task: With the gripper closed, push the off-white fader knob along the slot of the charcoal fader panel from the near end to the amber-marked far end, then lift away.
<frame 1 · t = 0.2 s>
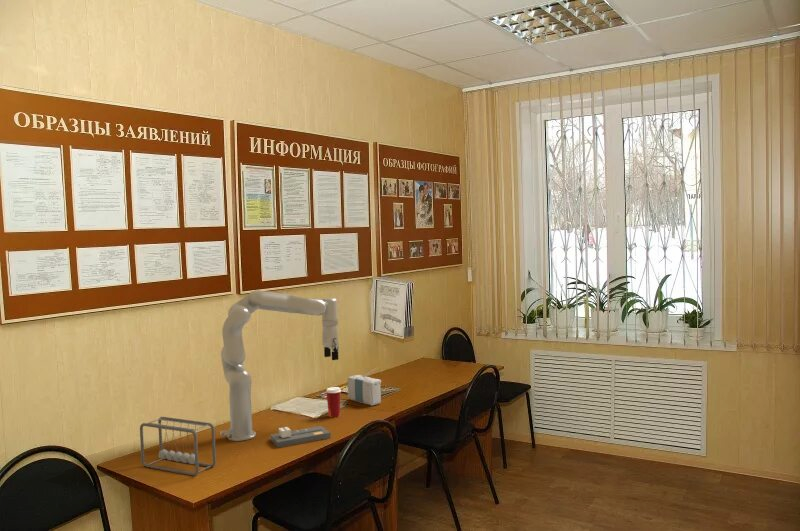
hand: (331, 358, 298), 31 cm above the table, tool pointing down, fingers open, 9 cm apart
stereo radio cassette player: (365, 402, 334), on the table
newton's cradle: (178, 467, 244), on the table
fader knob: (284, 432, 270), point 4 cm above the table, slide at -7.0 cm
fader panel: (300, 439, 273), on the table
paper cup: (334, 416, 308), on the table
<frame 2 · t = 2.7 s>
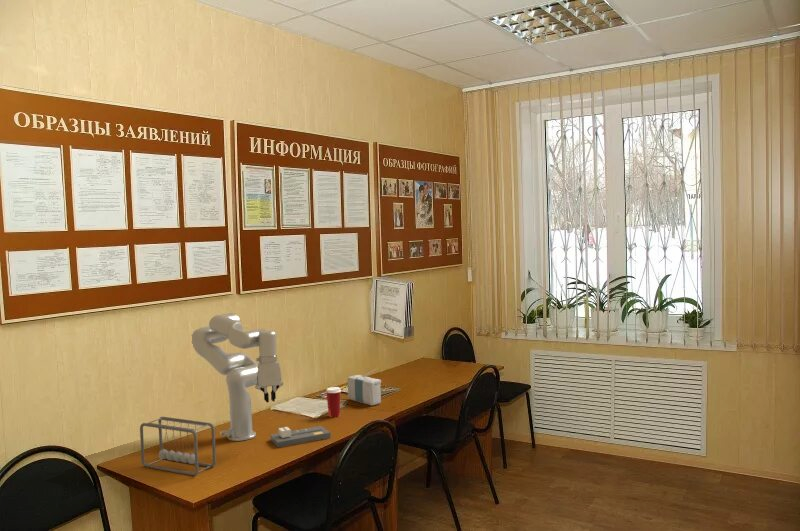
hand: (270, 401, 267), 19 cm above the table, tool pointing down, fingers closed
nothing on the table moved.
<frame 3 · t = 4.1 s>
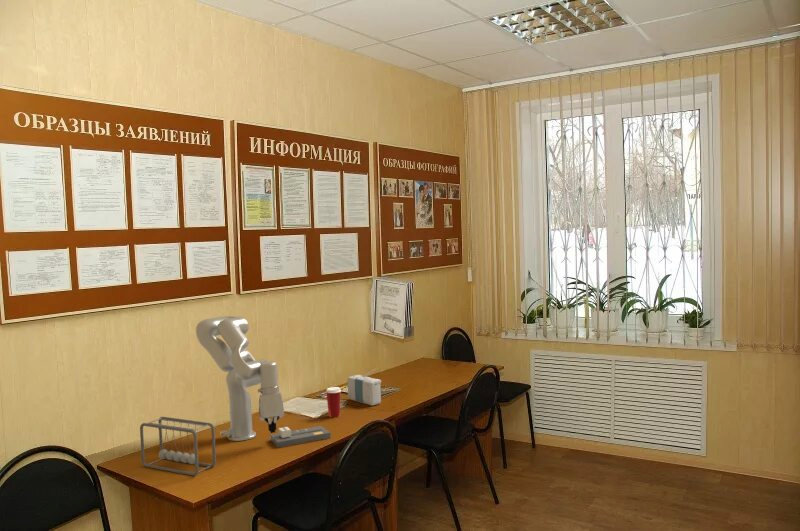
hand: (272, 431, 267), 6 cm above the table, tool pointing down, fingers closed
nothing on the table moved.
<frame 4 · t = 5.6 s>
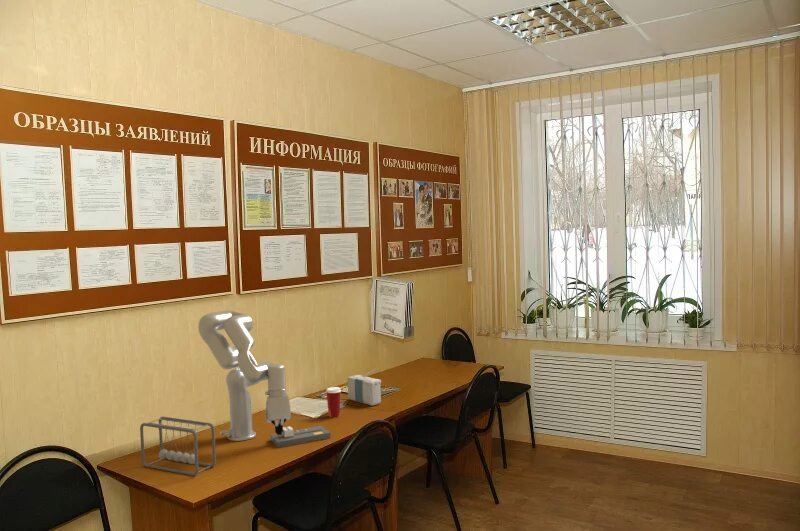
hand: (279, 434, 269), 4 cm above the table, tool pointing down, fingers closed
fader knob: (287, 431, 271), point 4 cm above the table, slide at -5.8 cm, touching gripper
everything else where it was.
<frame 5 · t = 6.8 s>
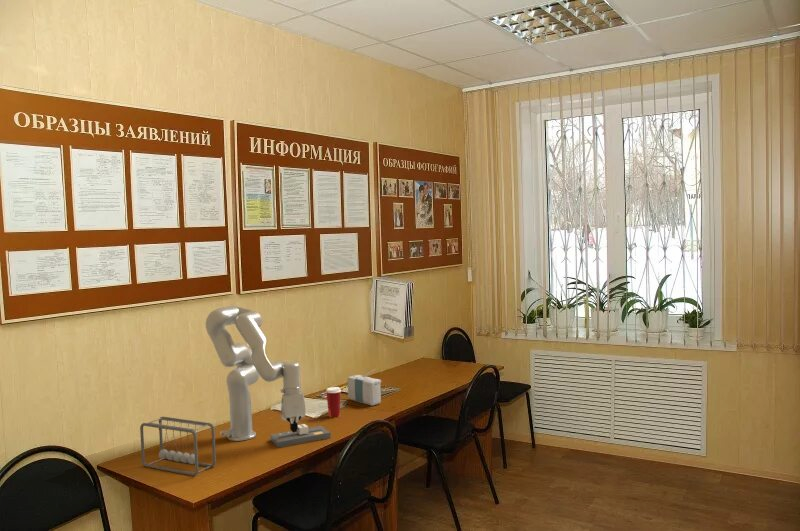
hand: (294, 431, 272), 4 cm above the table, tool pointing down, fingers closed
fader knob: (302, 429, 274), point 4 cm above the table, slide at 1.0 cm, touching gripper
everything else where it was.
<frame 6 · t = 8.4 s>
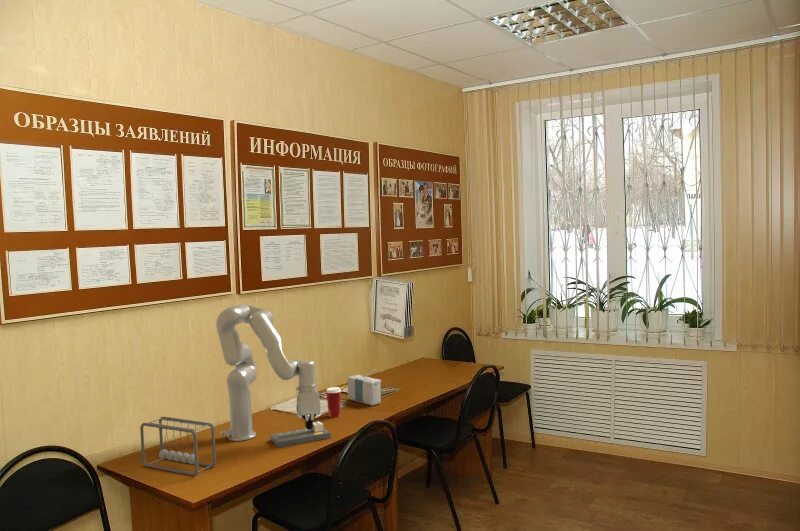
hand: (309, 428, 275), 4 cm above the table, tool pointing down, fingers closed
fader knob: (317, 426, 277), point 4 cm above the table, slide at 8.0 cm, touching gripper
everything else where it was.
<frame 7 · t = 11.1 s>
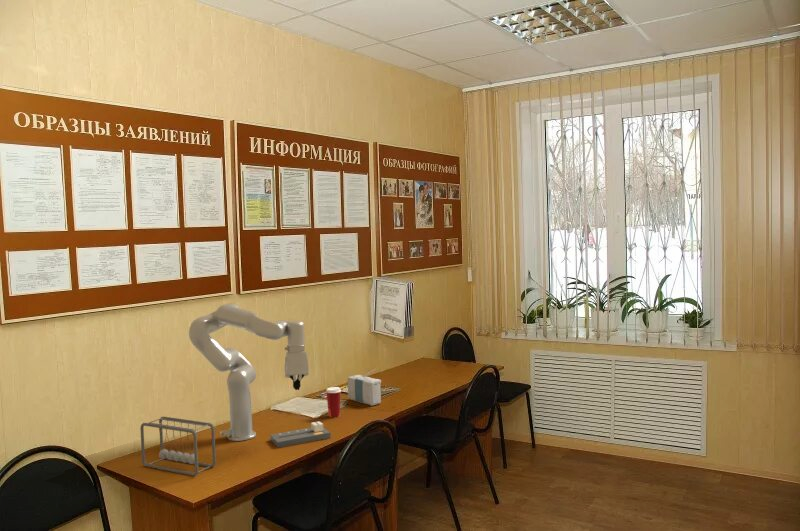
hand: (296, 389, 276), 22 cm above the table, tool pointing down, fingers closed
fader knob: (317, 426, 277), point 4 cm above the table, slide at 8.1 cm
everything else where it was.
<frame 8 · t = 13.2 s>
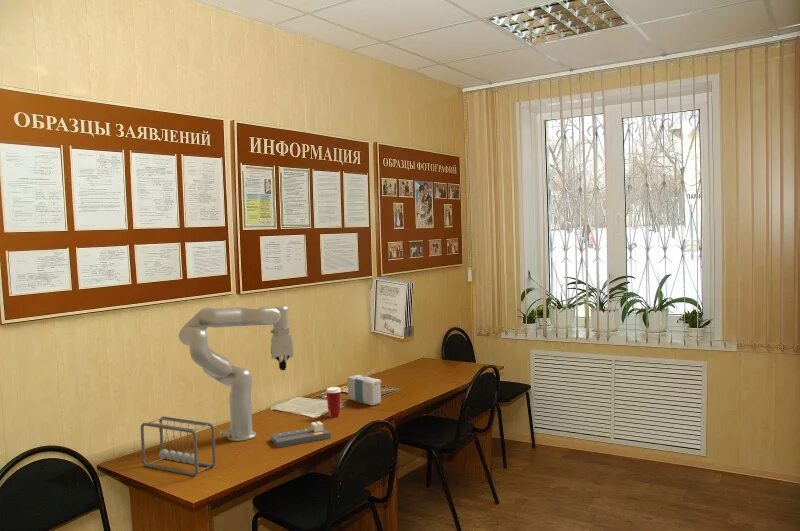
hand: (282, 369, 294), 27 cm above the table, tool pointing down, fingers closed
nothing on the table moved.
at the end: fader knob slide at 8.1 cm; paper cup moved 0.2 cm from its start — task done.
